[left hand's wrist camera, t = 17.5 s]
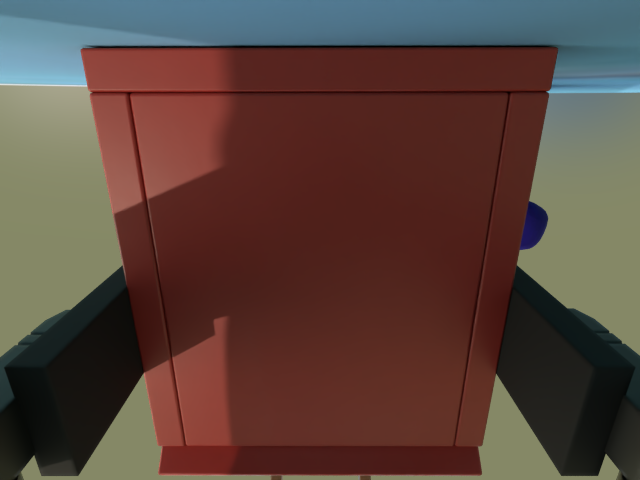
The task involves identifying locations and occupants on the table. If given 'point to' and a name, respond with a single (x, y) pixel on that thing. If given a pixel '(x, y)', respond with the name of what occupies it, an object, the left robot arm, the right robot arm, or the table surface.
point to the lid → (320, 460)
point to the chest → (319, 234)
